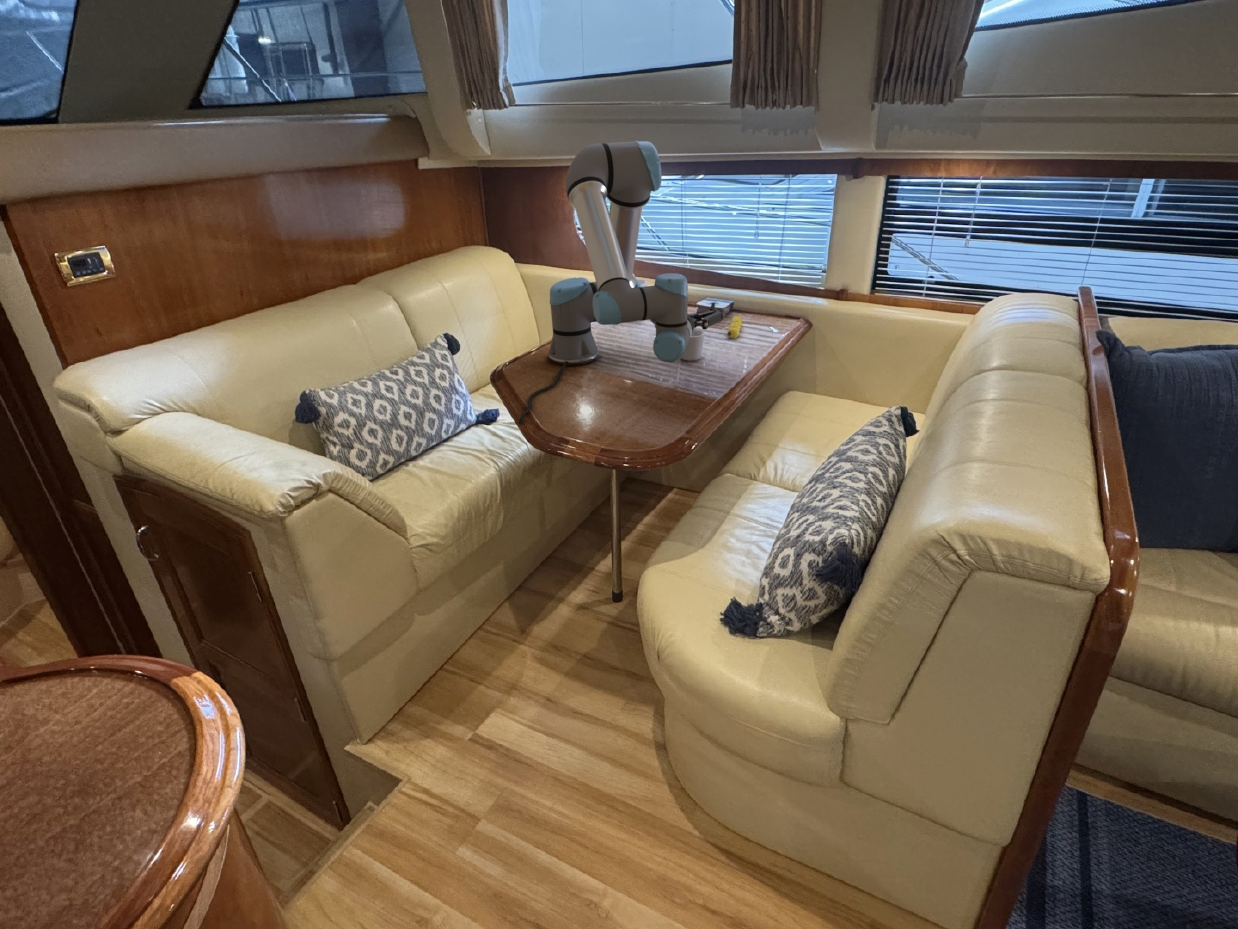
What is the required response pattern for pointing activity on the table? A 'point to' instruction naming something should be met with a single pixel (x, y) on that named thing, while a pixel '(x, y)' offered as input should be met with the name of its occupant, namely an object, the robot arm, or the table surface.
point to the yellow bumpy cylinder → (734, 327)
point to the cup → (694, 346)
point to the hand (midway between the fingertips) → (689, 306)
